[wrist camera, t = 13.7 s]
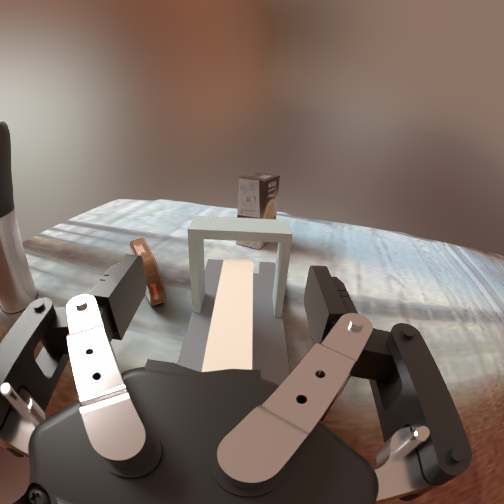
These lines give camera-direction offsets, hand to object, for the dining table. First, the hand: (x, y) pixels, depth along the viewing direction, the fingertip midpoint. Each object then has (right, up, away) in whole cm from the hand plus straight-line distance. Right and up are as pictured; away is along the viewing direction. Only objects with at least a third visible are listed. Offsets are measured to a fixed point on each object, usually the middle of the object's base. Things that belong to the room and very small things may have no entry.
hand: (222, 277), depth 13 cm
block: (-1, -12, +16) cm, 20 cm away
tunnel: (-1, -7, +28) cm, 28 cm away
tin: (-17, -6, +33) cm, 37 cm away
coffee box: (+2, +4, +55) cm, 55 cm away
